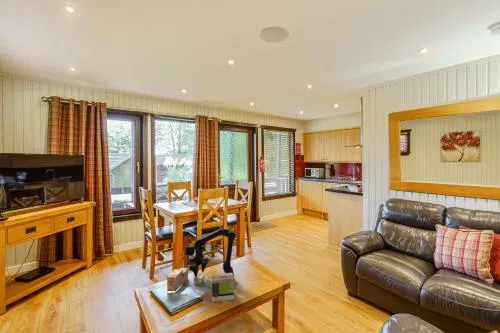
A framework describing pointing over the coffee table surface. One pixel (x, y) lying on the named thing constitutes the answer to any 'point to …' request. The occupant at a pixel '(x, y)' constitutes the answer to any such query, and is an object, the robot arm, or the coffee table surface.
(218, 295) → the tea box
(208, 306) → the coffee table surface
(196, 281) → the maple block
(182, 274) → the printed cardboard box
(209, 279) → the sage cube
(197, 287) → the grey flat sheet
